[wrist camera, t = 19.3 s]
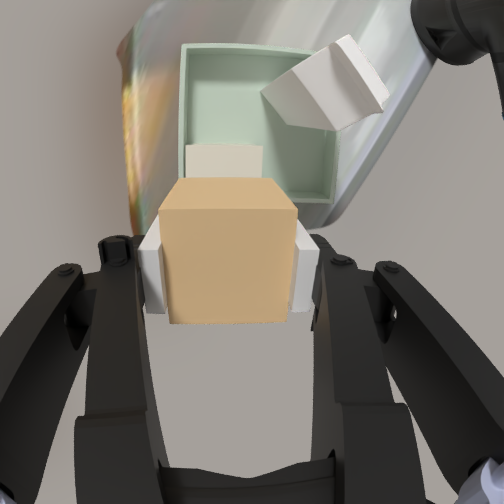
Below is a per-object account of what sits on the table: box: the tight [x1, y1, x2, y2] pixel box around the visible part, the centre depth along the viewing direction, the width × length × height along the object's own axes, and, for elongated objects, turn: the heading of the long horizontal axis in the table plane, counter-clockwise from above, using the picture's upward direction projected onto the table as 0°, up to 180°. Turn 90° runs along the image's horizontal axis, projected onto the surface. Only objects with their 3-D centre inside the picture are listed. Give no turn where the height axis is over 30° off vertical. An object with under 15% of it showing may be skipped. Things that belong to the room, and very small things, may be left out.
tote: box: [178, 43, 341, 204], centre depth 36 cm, size 20×20×4 cm
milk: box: [260, 34, 390, 132], centre depth 27 cm, size 6×6×22 cm
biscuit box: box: [158, 177, 298, 324], centre depth 14 cm, size 5×5×6 cm
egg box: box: [186, 143, 263, 178], centre depth 37 cm, size 9×6×7 cm, turn 88°
